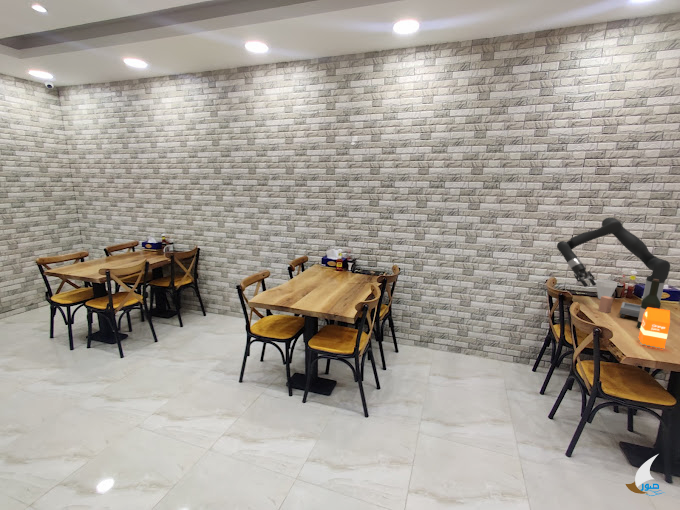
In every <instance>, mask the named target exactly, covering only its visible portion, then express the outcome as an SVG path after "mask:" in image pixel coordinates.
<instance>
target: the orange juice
mask: <svg viewBox="0 0 680 510" xmlns="http://www.w3.org/2000/svg"><path fill="white" fill-rule="evenodd" d="M670 325H671V310H670V309H669V310H668V309H661V308H660V309H656V308H650V307H647V309H646V311H645V313H644V315H643V319H642V324H641V328H640V329H639V335H638V338H639V340H640V342H641V343H642V344H646V345H650V346H655V347H660V348H664V349H665V347H666V342H667V338H668V334H669V329H670ZM640 342H639V343H640Z"/></svg>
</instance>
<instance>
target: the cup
mask: <svg viewBox="0 0 680 510" xmlns="http://www.w3.org/2000/svg"><path fill="white" fill-rule="evenodd" d="M595 283H596V285H595V286H596V291H597V292H596V293H597V299H599V300H600V299H601V296H608V297H611V298H612V296H613V294H614V292H615V290H616V288H617V287H618V282H617V281H615V280H612V279H605V278H604V279H603V278H598V279H596V281H595Z"/></svg>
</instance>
